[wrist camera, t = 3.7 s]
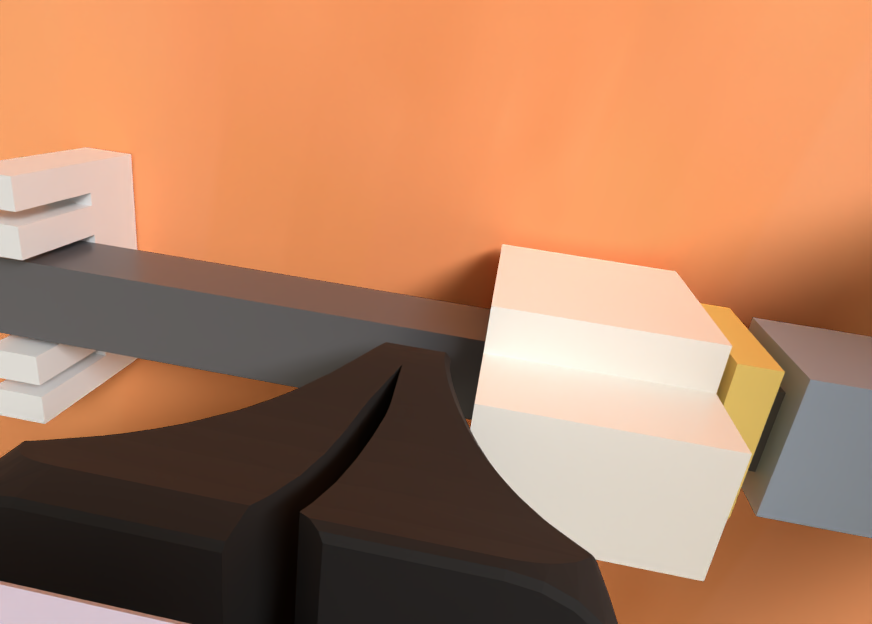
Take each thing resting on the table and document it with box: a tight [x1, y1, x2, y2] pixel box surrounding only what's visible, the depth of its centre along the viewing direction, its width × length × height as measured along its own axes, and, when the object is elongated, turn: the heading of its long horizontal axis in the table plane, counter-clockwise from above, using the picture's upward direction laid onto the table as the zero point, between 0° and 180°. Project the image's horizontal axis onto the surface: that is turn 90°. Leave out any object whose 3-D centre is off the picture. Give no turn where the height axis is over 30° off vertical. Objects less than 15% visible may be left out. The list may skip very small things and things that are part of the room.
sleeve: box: [470, 244, 752, 581], centre depth 12 cm, size 4×4×6 cm
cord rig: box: [0, 147, 872, 538], centre depth 14 cm, size 19×6×4 cm, turn 83°
